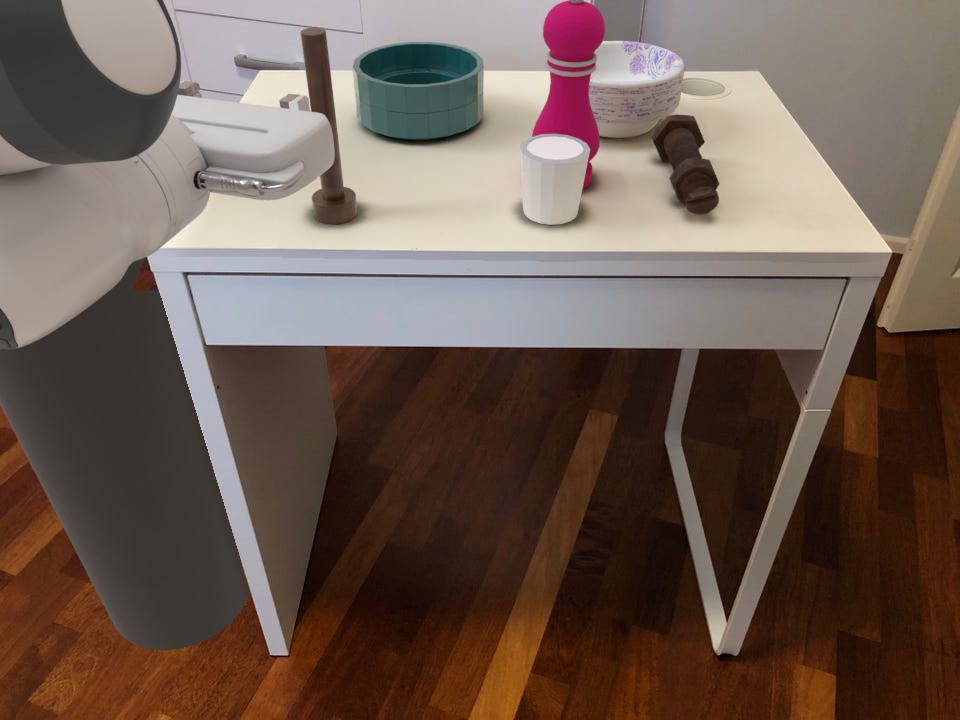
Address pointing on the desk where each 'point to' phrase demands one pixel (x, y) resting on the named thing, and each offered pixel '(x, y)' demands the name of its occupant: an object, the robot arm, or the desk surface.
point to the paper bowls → (633, 87)
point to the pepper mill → (571, 73)
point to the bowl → (419, 89)
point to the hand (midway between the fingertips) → (246, 97)
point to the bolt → (687, 163)
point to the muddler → (333, 197)
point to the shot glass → (552, 177)
